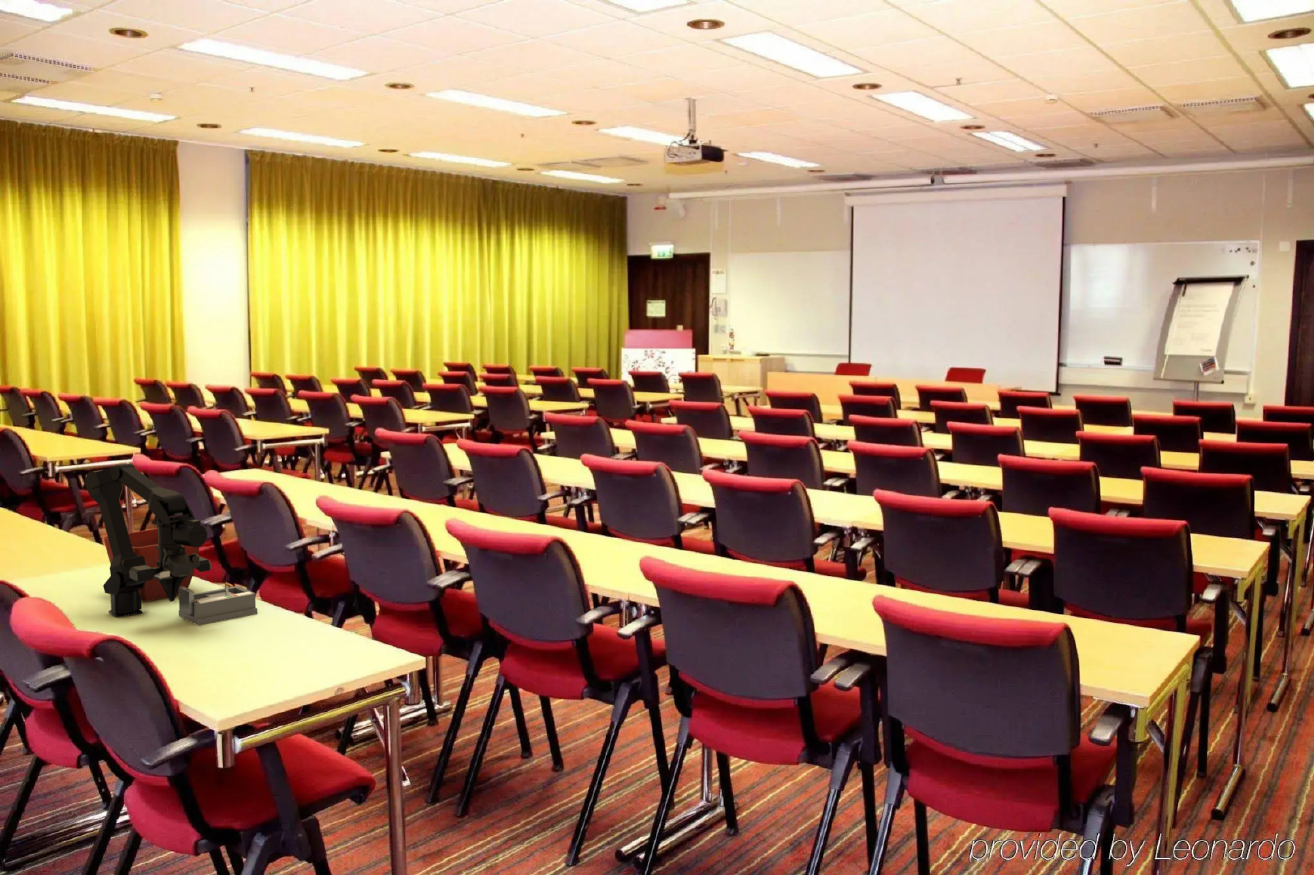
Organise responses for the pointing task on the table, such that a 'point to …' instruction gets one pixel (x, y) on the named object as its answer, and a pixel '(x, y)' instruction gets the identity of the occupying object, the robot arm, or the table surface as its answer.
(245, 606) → the gauge frame
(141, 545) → the plant pot
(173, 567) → the robot arm
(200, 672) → the table surface
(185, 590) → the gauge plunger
